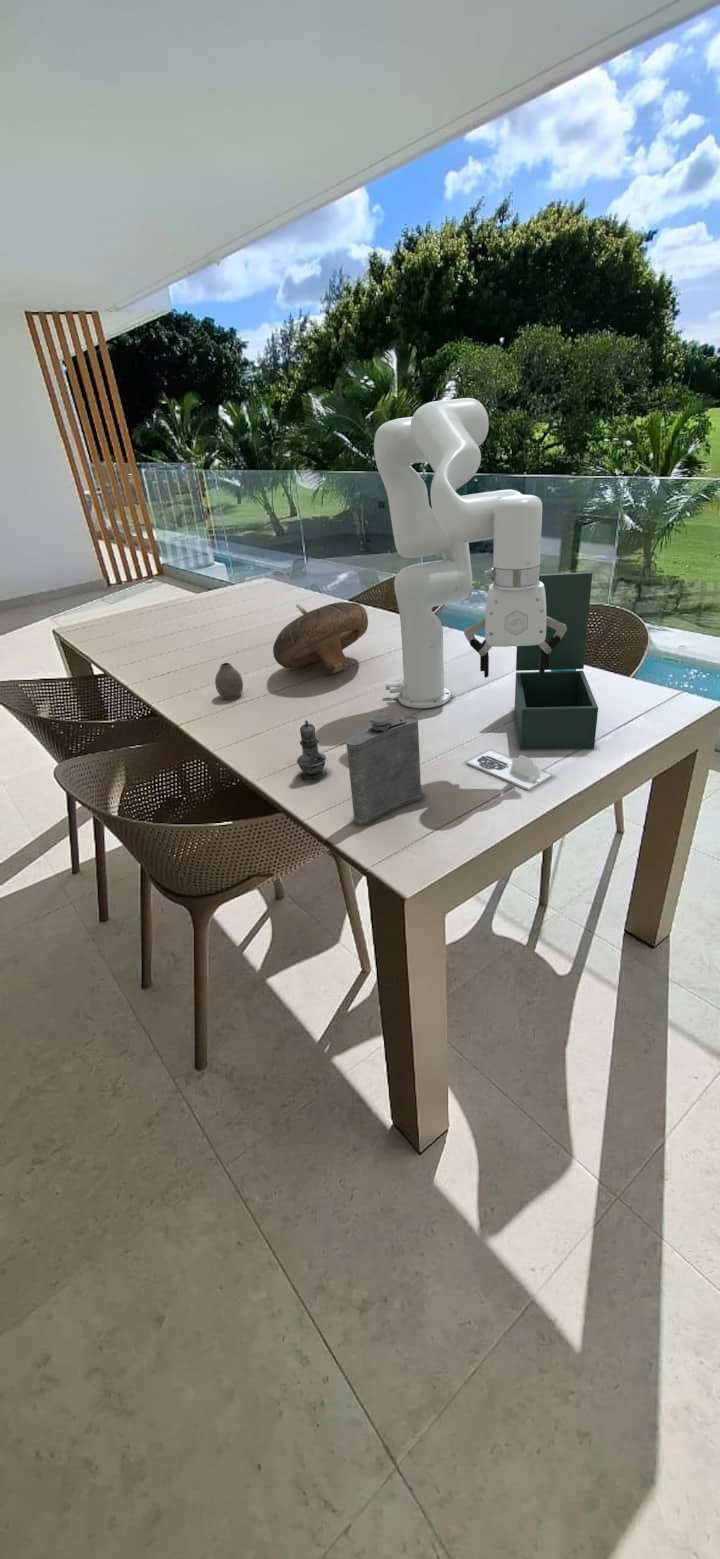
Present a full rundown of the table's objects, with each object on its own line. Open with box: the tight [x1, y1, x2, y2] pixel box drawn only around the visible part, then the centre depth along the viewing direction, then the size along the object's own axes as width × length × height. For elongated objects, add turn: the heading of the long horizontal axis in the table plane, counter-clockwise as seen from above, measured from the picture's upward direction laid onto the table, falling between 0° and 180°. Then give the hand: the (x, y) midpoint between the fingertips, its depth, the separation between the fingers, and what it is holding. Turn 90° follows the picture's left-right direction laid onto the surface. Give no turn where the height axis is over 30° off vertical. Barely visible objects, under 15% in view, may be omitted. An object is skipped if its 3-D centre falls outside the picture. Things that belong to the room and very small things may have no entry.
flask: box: [345, 712, 422, 826], centre depth 116 cm, size 4×14×18 cm, turn 125°
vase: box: [214, 662, 244, 700], centre depth 171 cm, size 7×7×9 cm
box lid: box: [515, 571, 593, 672], centre depth 143 cm, size 21×14×5 cm
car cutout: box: [466, 750, 553, 792], centre depth 127 cm, size 15×7×4 cm, turn 40°
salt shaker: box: [296, 719, 328, 783], centre depth 130 cm, size 6×6×12 cm
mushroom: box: [272, 601, 369, 675], centre depth 180 cm, size 28×23×25 cm
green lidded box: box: [514, 670, 599, 750], centre depth 140 cm, size 20×14×9 cm
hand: (513, 673), depth 119 cm, fingers open, 9 cm apart
